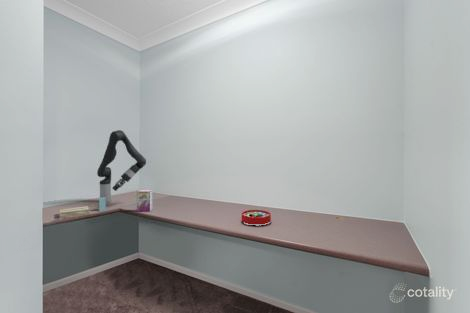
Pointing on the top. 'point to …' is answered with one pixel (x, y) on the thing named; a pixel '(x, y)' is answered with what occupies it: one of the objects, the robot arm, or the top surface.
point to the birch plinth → (74, 212)
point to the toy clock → (256, 217)
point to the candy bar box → (144, 200)
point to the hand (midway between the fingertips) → (113, 189)
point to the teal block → (102, 204)
